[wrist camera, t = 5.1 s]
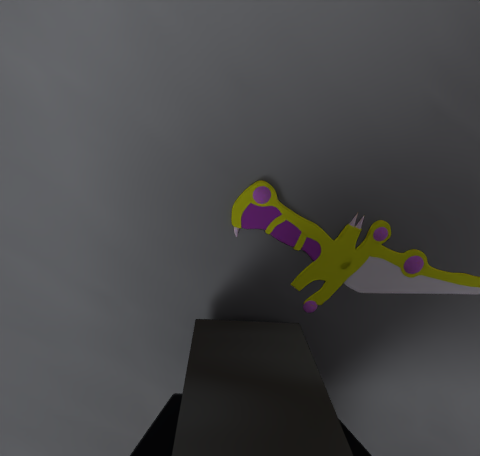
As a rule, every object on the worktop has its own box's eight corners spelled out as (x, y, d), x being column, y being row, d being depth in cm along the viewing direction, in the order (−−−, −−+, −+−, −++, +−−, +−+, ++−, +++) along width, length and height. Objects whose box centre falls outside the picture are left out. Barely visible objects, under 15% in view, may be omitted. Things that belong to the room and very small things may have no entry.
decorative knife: (506, 373, 10) (605, 255, 9) (519, 385, 10) (626, 262, 8) (204, 278, 9) (268, 112, 7) (202, 286, 8) (270, 110, 7)
